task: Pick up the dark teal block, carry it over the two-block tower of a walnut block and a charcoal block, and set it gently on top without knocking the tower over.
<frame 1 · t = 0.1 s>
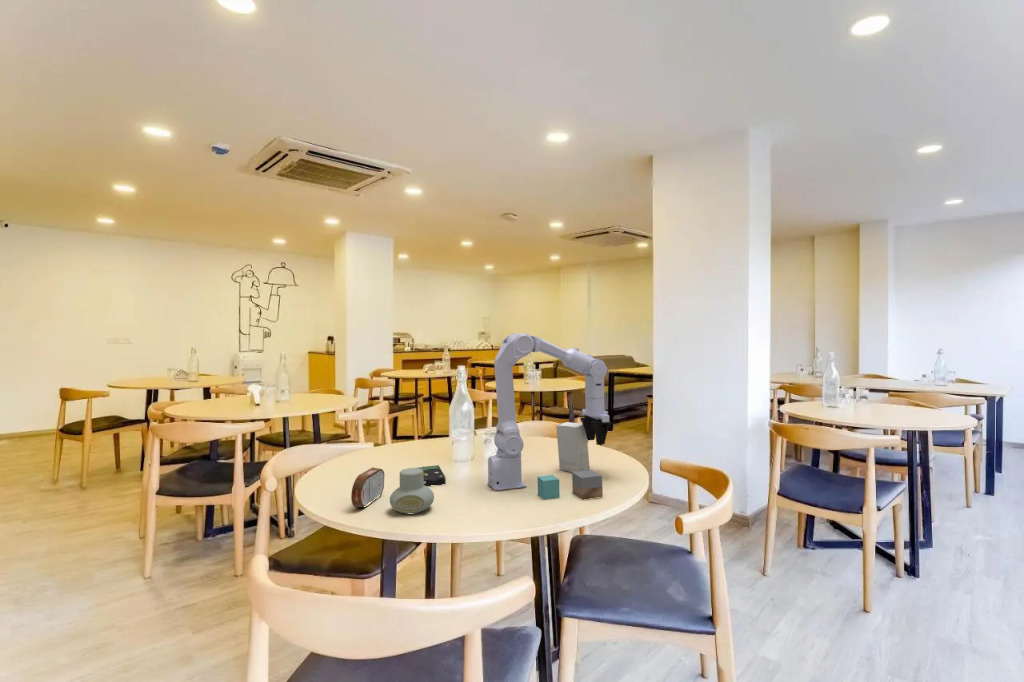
hand: (595, 442, 155), 10 cm above the table, tool pointing down, fingers open, 6 cm apart
teal block: (548, 496, 136), on the table
skincare box: (573, 470, 161), on the table, touching gripper
air freshener: (412, 511, 127), on the table
disk drive: (425, 481, 154), on the table
tin: (369, 503, 134), on the table
tower top: (587, 484, 137), point 3 cm above the table, touching tower bottom
tower bottom: (587, 496, 137), on the table, touching tower top
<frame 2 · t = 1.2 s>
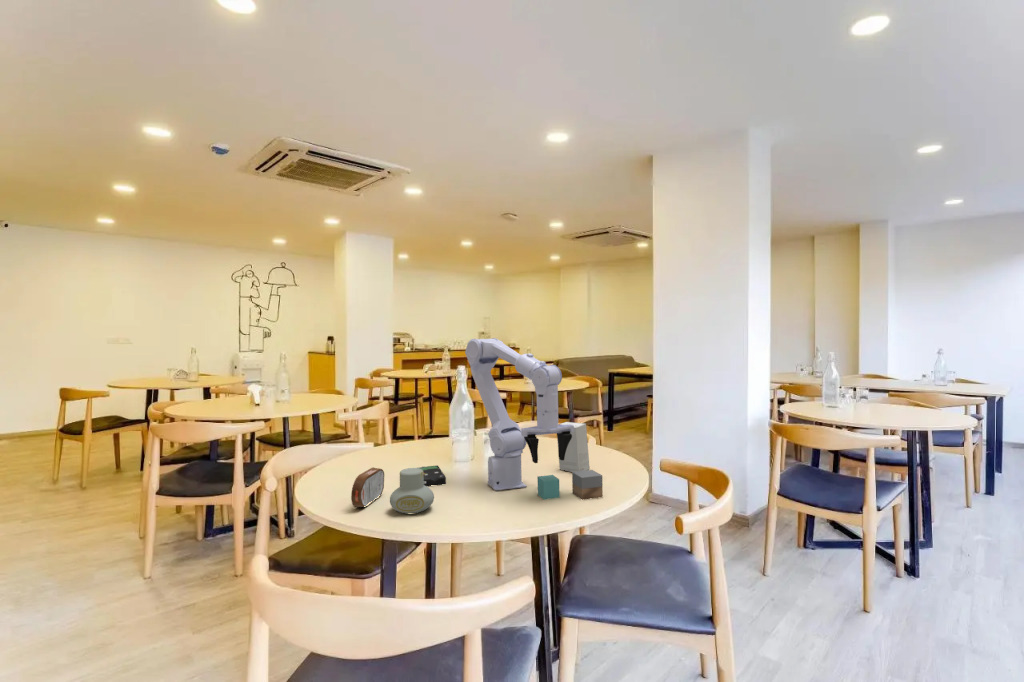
hand: (548, 460, 136), 9 cm above the table, tool pointing down, fingers open, 7 cm apart
skincare box: (573, 470, 161), on the table
everything else where it was.
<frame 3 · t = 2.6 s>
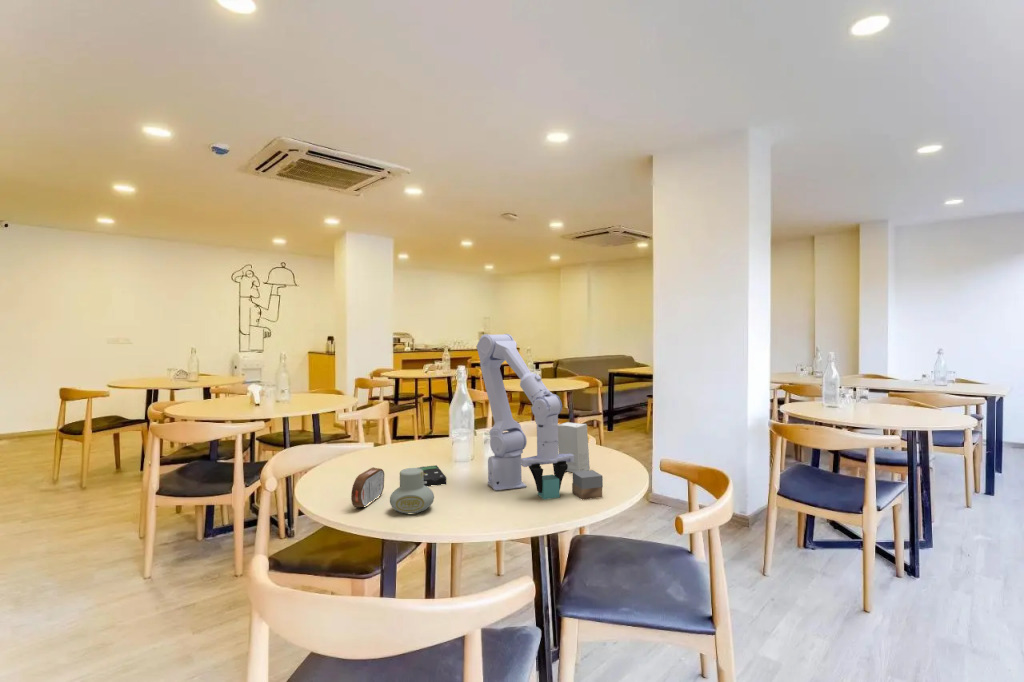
hand: (548, 490, 136), 1 cm above the table, tool pointing down, fingers closed on teal block, 4 cm apart
teal block: (548, 496, 136), on the table, touching gripper
tower top: (587, 484, 136), point 3 cm above the table
tower bottom: (587, 495, 137), on the table
everything else where it was.
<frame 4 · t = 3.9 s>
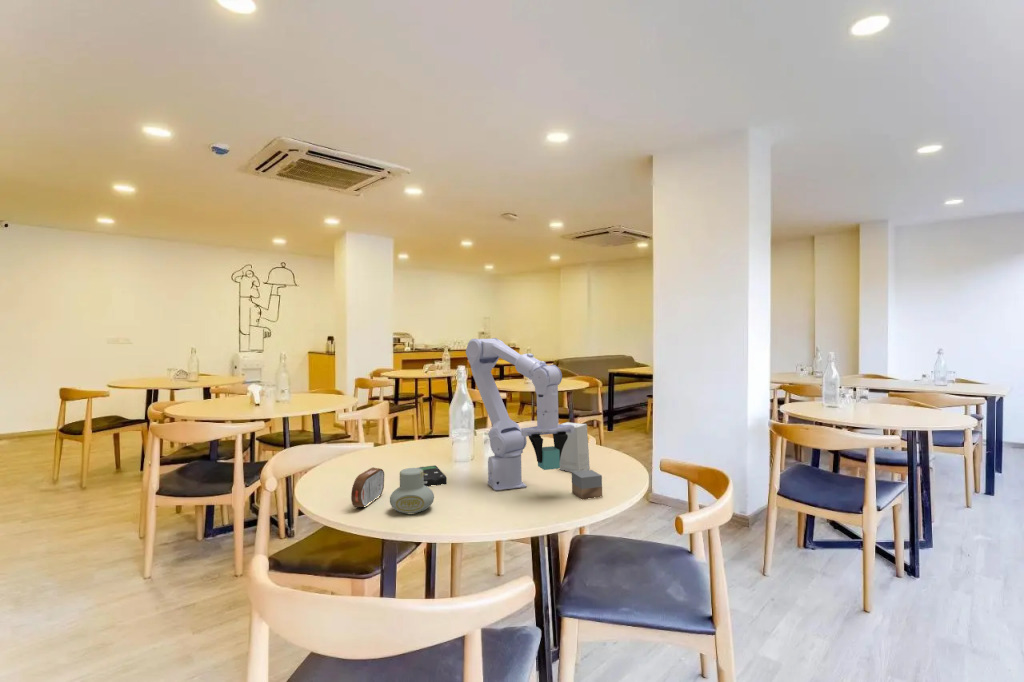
hand: (548, 461, 136), 9 cm above the table, tool pointing down, fingers closed on teal block, 4 cm apart
teal block: (548, 467, 136), point 8 cm above the table, touching gripper
tower top: (586, 484, 137), point 3 cm above the table, touching tower bottom
tower bottom: (587, 495, 137), on the table, touching tower top
everything else where it was.
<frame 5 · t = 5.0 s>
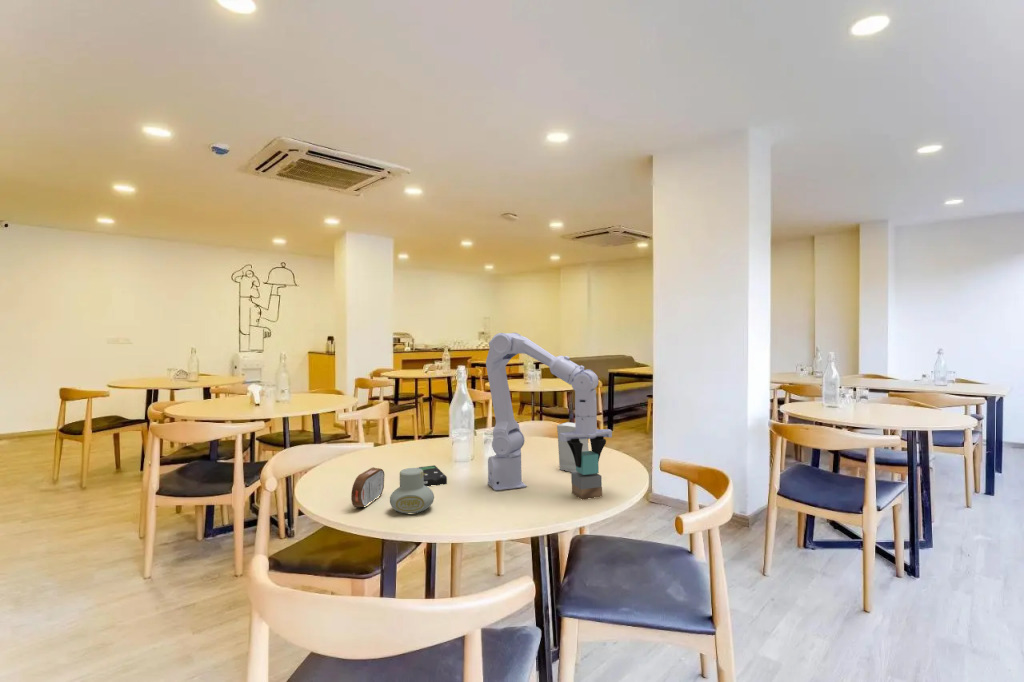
hand: (586, 465, 136), 8 cm above the table, tool pointing down, fingers closed on teal block, 4 cm apart
teal block: (587, 471, 136), point 6 cm above the table, touching gripper
everything else where it was.
when the fingers open (8 cm above the table, at t = 5.3 s): teal block stays where it is, resting on tower top.
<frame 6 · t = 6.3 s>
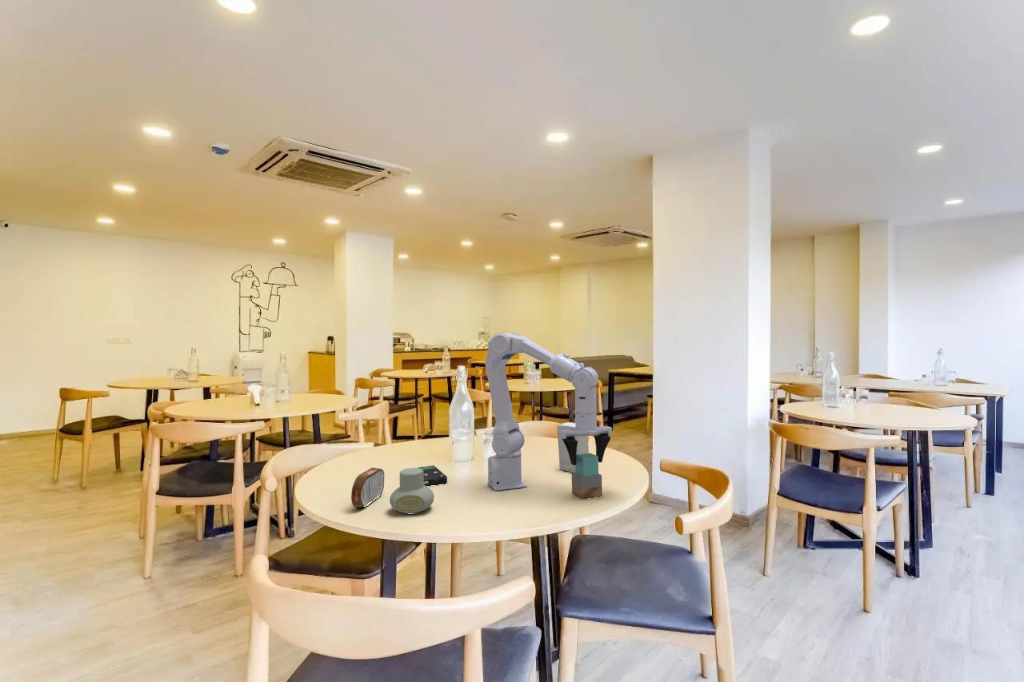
hand: (586, 462, 136), 9 cm above the table, tool pointing down, fingers open, 7 cm apart
teal block: (586, 473, 136), point 6 cm above the table, touching tower top
tower top: (586, 484, 137), point 3 cm above the table, touching teal block, tower bottom
everything else where it was.
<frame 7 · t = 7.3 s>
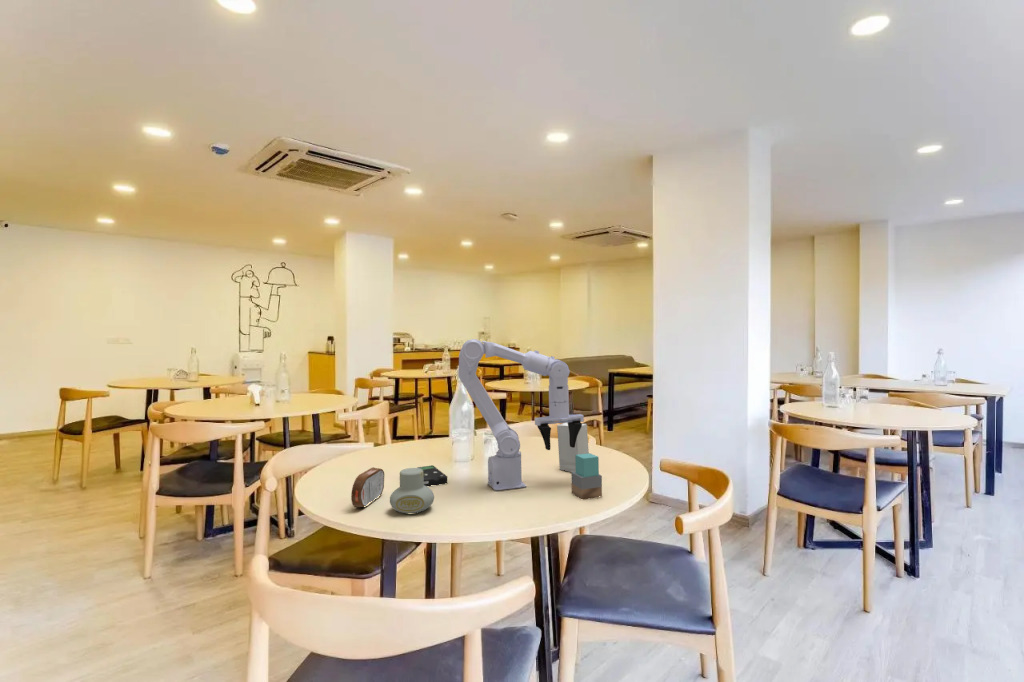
hand: (560, 448, 147), 10 cm above the table, tool pointing down, fingers open, 7 cm apart
nothing on the table moved.
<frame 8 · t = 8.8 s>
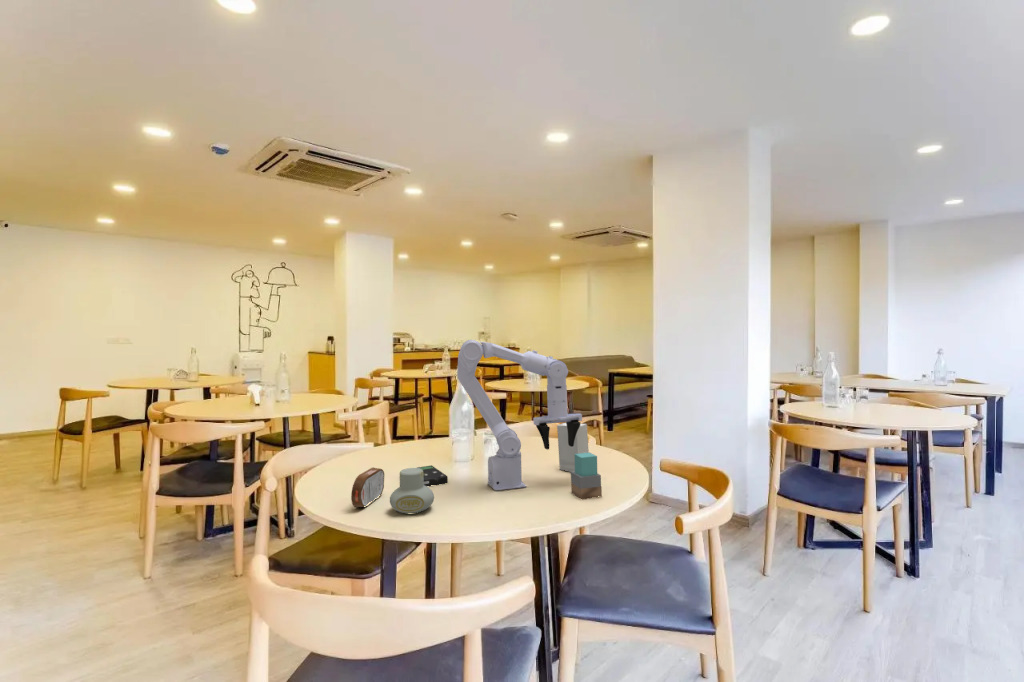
hand: (559, 447, 148), 10 cm above the table, tool pointing down, fingers open, 7 cm apart
at the end: teal block 0.0 cm off-centre on the tower bottom, point 6.0 cm above the tower bottom's base; tower top 0.1 cm off-centre on the tower bottom, point 3.0 cm above the tower bottom's base; the gripper is holding nothing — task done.
